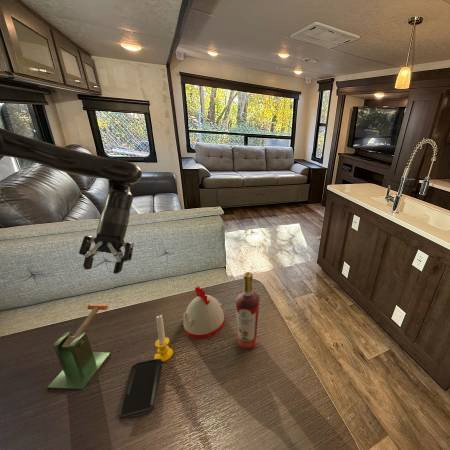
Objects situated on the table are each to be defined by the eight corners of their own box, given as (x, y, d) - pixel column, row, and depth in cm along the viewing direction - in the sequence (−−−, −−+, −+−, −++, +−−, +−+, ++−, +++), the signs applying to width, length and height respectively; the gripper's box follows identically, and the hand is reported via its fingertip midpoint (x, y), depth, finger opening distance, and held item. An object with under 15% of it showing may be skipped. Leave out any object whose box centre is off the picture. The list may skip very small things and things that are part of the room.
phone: (162, 357, 75) (153, 408, 62) (162, 360, 76) (154, 411, 63) (132, 364, 72) (116, 418, 60) (132, 366, 73) (117, 421, 60)
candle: (150, 358, 76) (144, 316, 71) (165, 346, 80) (161, 306, 75) (162, 365, 74) (157, 323, 69) (176, 352, 78) (173, 312, 73)
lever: (92, 306, 76) (88, 302, 74) (109, 307, 76) (106, 303, 75) (60, 350, 66) (55, 346, 64) (79, 351, 66) (75, 347, 64)
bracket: (80, 354, 75) (69, 322, 70) (111, 355, 76) (102, 323, 71) (47, 390, 65) (31, 356, 60) (83, 391, 66) (70, 357, 61)
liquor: (233, 351, 81) (231, 280, 70) (240, 333, 88) (239, 266, 77) (255, 353, 81) (257, 283, 70) (260, 335, 87) (262, 269, 76)
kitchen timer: (211, 304, 99) (209, 273, 94) (231, 323, 91) (231, 290, 86) (176, 322, 89) (172, 289, 84) (196, 345, 81) (192, 310, 76)
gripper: (82, 216, 76) (68, 269, 74) (131, 224, 78) (118, 276, 76) (98, 219, 83) (86, 266, 82) (142, 226, 85) (131, 273, 83)
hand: (102, 271), depth 79 cm, fingers open, 8 cm apart
